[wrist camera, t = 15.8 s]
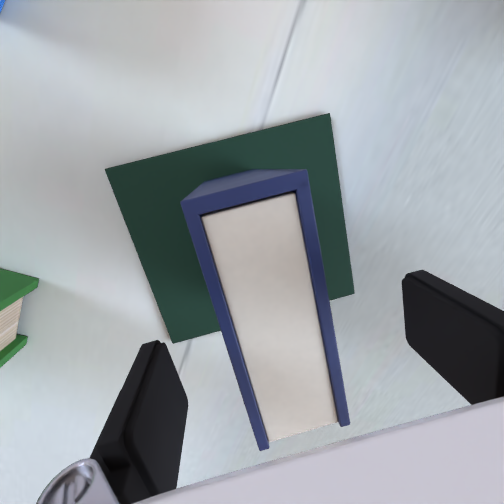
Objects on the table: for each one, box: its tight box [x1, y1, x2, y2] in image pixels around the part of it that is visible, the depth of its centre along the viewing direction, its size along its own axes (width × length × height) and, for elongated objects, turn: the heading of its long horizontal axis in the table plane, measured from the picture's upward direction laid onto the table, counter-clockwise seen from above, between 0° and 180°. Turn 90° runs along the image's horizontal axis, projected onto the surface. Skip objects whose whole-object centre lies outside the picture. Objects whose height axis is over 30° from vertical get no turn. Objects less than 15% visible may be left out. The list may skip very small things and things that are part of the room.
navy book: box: [180, 169, 350, 451], centre depth 19 cm, size 4×12×16 cm, turn 14°
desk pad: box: [105, 113, 354, 344], centre depth 27 cm, size 20×18×1 cm
